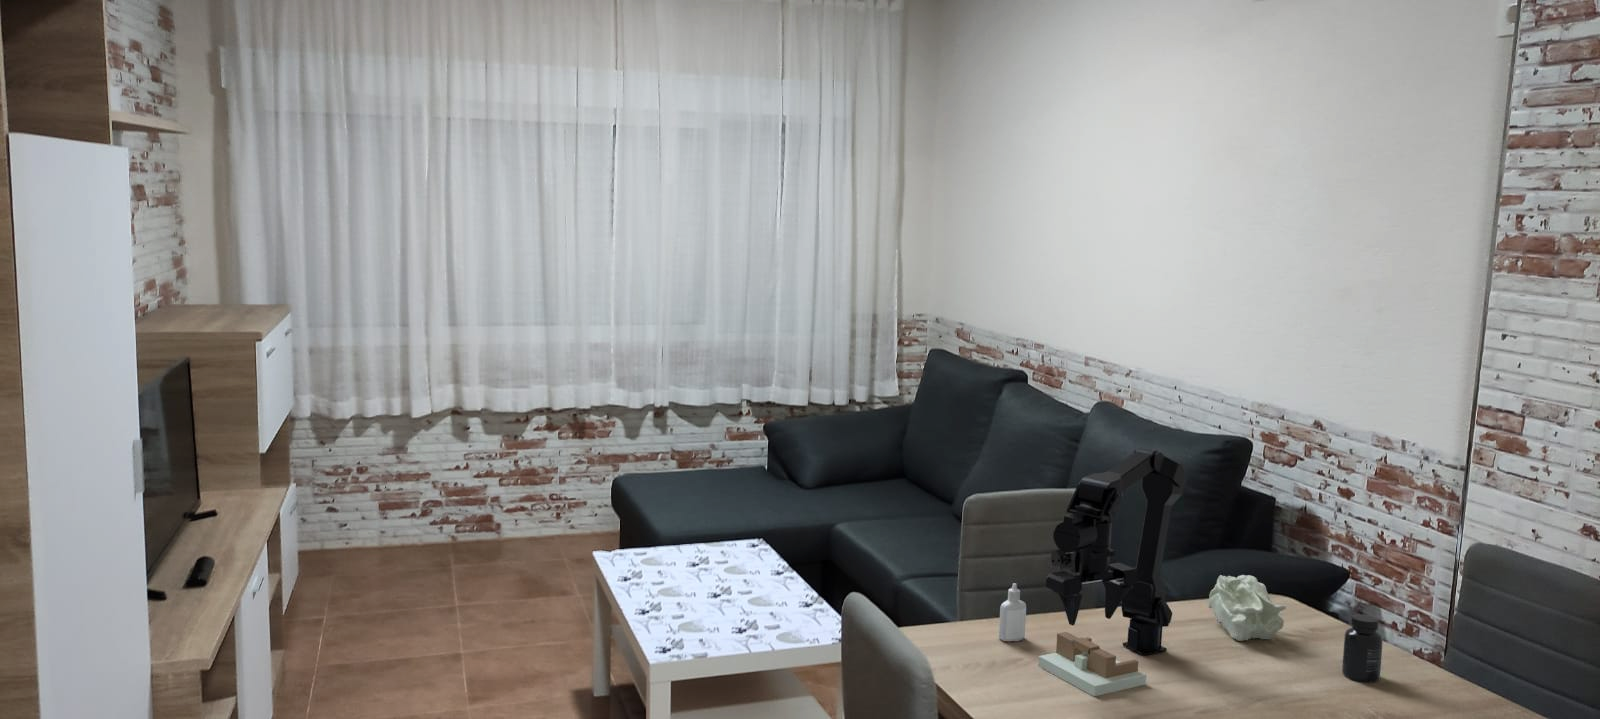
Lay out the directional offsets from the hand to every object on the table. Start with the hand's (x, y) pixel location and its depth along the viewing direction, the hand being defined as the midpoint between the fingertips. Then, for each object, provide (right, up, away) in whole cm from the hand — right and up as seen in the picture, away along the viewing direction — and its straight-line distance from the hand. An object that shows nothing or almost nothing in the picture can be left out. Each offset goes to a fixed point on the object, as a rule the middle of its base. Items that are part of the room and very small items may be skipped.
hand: (1089, 621), depth 224 cm
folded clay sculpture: (+40, -9, +28) cm, 50 cm away
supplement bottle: (+55, -12, +5) cm, 56 cm away
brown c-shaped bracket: (+2, -9, +4) cm, 10 cm away
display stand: (0, -11, +2) cm, 11 cm away
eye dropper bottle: (-11, -8, +20) cm, 25 cm away
